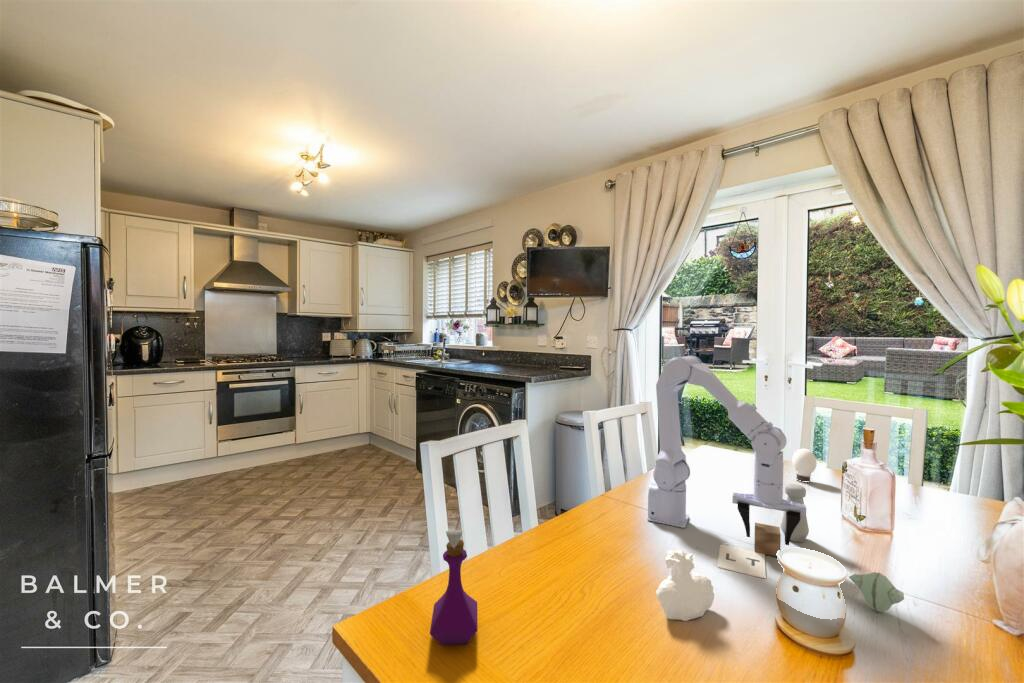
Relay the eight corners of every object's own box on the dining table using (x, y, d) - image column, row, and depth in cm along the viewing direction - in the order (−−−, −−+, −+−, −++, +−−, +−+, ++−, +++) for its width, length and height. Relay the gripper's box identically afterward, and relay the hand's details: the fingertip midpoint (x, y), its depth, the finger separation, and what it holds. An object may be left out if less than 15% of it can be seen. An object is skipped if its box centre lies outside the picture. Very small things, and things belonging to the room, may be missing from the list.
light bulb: (787, 478, 149) (787, 446, 149) (805, 477, 150) (806, 445, 149) (802, 485, 142) (803, 451, 142) (821, 484, 143) (822, 451, 143)
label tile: (717, 567, 93) (717, 566, 93) (720, 544, 103) (720, 543, 103) (765, 578, 89) (765, 577, 89) (764, 554, 98) (764, 553, 98)
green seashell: (846, 602, 81) (847, 567, 81) (855, 595, 83) (856, 560, 83) (902, 627, 75) (903, 588, 74) (909, 618, 77) (911, 580, 77)
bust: (707, 613, 82) (681, 549, 88) (734, 608, 76) (704, 539, 82) (655, 628, 77) (631, 560, 83) (679, 624, 72) (652, 551, 78)
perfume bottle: (434, 622, 76) (433, 520, 75) (477, 619, 76) (477, 518, 76) (429, 654, 68) (429, 541, 68) (477, 651, 69) (477, 539, 68)
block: (754, 551, 99) (754, 529, 99) (754, 543, 104) (754, 522, 104) (780, 557, 97) (780, 535, 97) (779, 548, 101) (779, 527, 101)
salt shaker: (813, 545, 103) (814, 490, 102) (786, 542, 104) (787, 489, 104) (802, 533, 108) (803, 482, 108) (776, 531, 110) (777, 480, 109)
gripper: (732, 480, 100) (731, 538, 100) (808, 492, 93) (806, 554, 93) (733, 471, 106) (732, 526, 107) (804, 482, 99) (803, 540, 99)
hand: (767, 539), depth 100 cm, fingers open, 7 cm apart
